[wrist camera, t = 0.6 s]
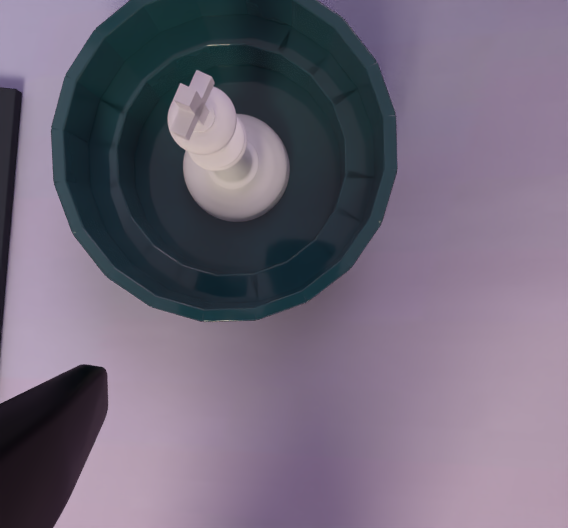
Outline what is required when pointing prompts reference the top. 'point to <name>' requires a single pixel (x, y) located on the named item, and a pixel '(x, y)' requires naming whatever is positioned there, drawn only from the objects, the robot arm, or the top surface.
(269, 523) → the top surface
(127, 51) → the bowl
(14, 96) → the mat
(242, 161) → the chess piece
